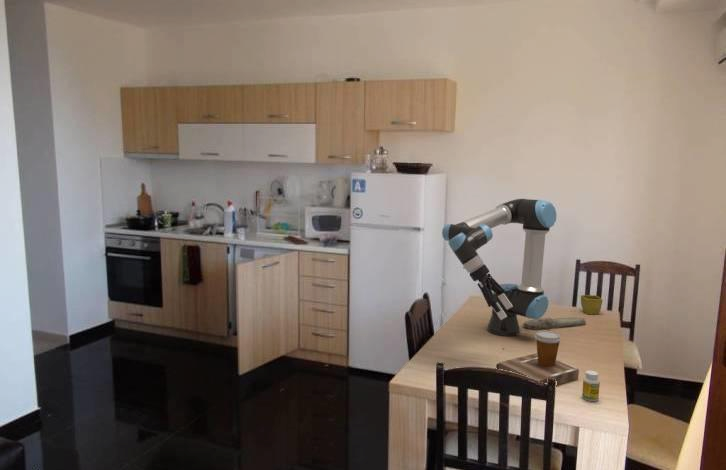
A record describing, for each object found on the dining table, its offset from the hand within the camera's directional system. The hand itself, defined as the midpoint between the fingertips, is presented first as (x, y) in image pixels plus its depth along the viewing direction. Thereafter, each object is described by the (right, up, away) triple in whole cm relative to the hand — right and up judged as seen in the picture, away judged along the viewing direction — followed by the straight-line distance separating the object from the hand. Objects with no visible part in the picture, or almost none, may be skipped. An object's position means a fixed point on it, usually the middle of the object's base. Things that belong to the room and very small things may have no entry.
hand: (507, 313), depth 216 cm
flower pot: (+66, -12, +79) cm, 104 cm away
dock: (+10, -24, -5) cm, 26 cm away
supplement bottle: (+23, -27, -24) cm, 43 cm away
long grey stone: (+39, -15, +57) cm, 71 cm away
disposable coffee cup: (+14, -19, -4) cm, 25 cm away
